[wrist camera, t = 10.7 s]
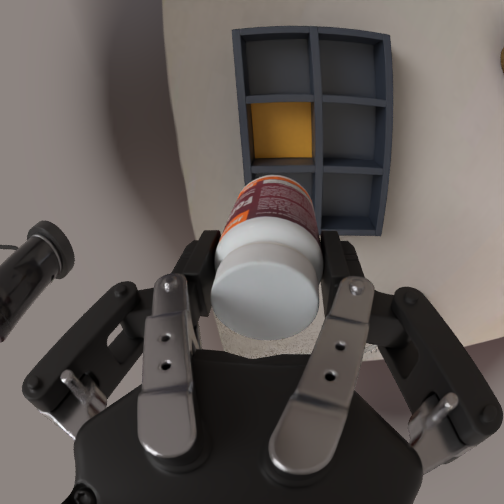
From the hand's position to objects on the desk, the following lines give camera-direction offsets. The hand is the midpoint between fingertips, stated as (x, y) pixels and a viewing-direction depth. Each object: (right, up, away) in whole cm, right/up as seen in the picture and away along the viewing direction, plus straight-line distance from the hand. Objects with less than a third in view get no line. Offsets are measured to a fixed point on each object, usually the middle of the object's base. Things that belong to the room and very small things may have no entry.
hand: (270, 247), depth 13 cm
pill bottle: (+1, +2, +4) cm, 5 cm away
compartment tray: (+6, +13, +15) cm, 21 cm away
